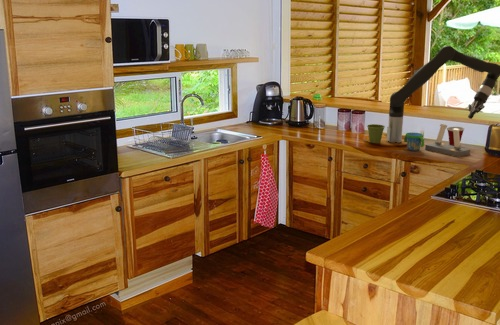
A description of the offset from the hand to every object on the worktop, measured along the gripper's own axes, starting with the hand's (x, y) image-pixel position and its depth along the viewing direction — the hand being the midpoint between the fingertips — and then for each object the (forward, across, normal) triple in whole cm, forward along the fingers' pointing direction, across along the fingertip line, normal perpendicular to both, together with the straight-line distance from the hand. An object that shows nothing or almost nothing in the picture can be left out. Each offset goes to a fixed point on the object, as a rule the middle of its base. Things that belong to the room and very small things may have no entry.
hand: (469, 118), depth 342 cm
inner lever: (+21, -10, -4) cm, 24 cm away
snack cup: (+33, -15, -15) cm, 39 cm away
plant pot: (+37, -41, -27) cm, 61 cm away
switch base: (+24, -4, 0) cm, 25 cm away
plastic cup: (+15, -16, +11) cm, 25 cm away
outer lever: (+21, +3, 0) cm, 21 cm away
